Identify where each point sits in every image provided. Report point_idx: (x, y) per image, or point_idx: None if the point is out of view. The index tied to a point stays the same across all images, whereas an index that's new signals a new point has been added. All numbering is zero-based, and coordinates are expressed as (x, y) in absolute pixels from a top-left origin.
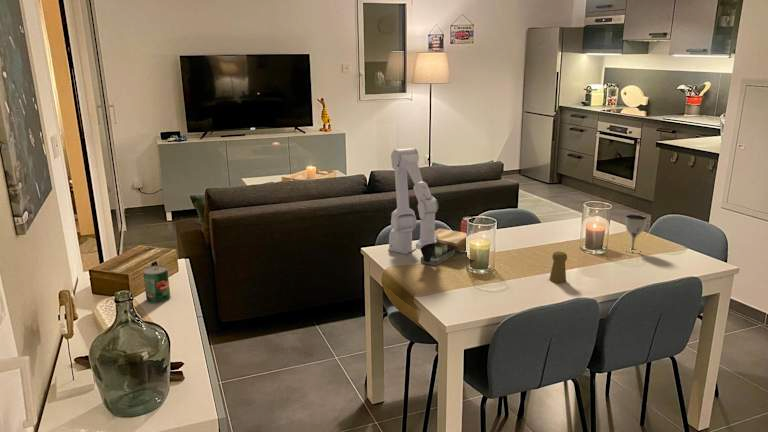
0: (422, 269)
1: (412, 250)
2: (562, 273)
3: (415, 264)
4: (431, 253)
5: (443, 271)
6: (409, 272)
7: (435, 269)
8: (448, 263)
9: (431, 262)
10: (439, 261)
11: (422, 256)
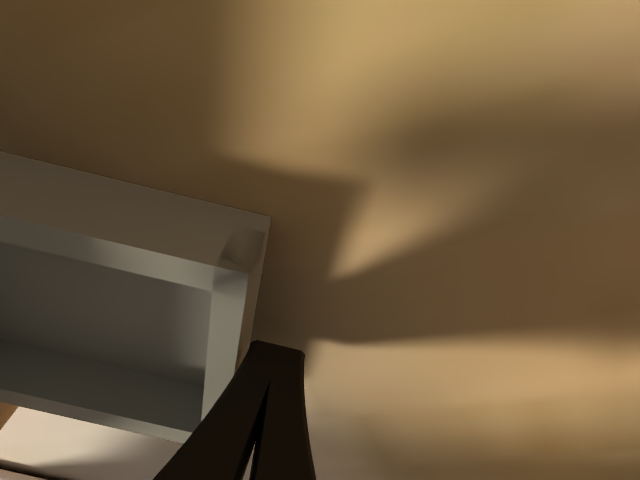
0: (489, 345)
1: (9, 474)
2: None
3: (333, 420)
4: (208, 459)
5: (542, 6)
6: (623, 440)
7: (450, 188)
8: (44, 30)
9: (252, 305)
10: (133, 207)
11: (183, 442)
